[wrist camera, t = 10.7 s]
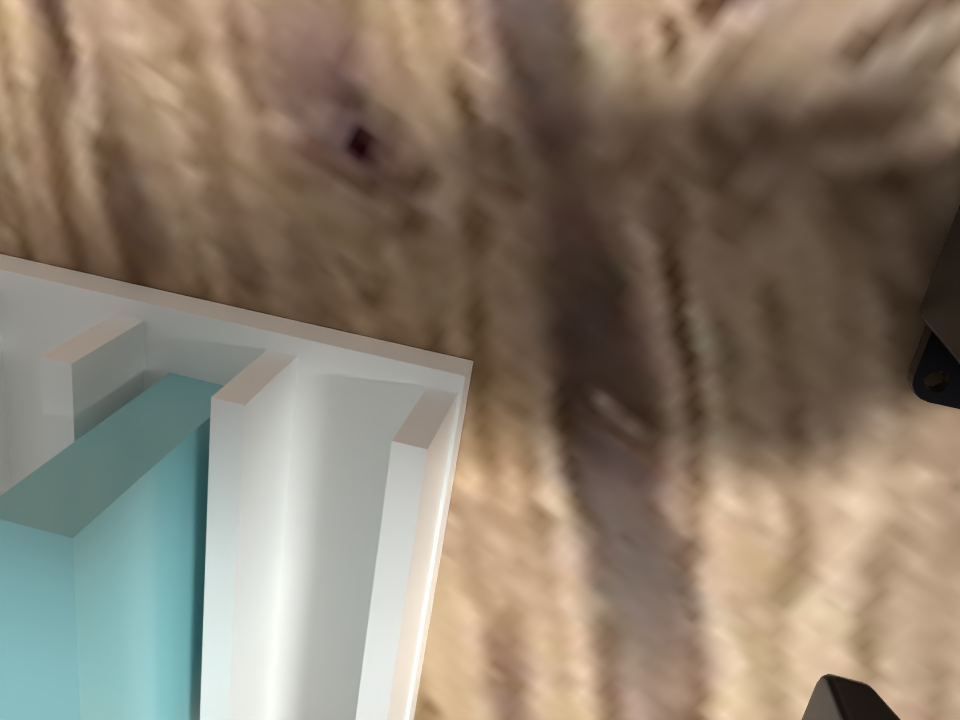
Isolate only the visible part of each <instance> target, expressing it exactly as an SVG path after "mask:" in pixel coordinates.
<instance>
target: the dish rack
mask: <svg viewBox="0 0 960 720" xmlns="http://www.w3.org/2000/svg"><path fill="white" fill-rule="evenodd" d="M473 362H474V361H472V360H467V359H463V358H458V357H454V356H449V355H445V354H441V353H436V352H432V351H427V350H423V349H419V348H414V347H410V346H405V345H401V344H396V343H392V342H388V341H383V340H379V339H374V338H370V337H366V336H361V335H357V334H352V333H348V332H343V331H339V330H335V329H330V328H326V327H321V326H317V325H313V324H308V323H304V322H299V321H295V320H290V319H286V318H282V317H277V316H273V315H268V314H264V313H260V312H255V311H251V310H246V309H242V308H237V307H233V306H229V305H224V304H220V303H215V302H211V301H207V300H202V299H198V298H193V297H189V296H184V295H180V294H176V293H171V292H167V291H162V290H158V289H154V288H149V287H145V286H140V285H136V284H131V283H127V282H123V281H118V280H114V279H109V278H105V277H101V276H96V275H92V274H87V273H83V272H78V271H74V270H70V269H65V268H61V267H56V266H52V265H48V264H43V263H39V262H34V261H30V260H25V259H21V258H17V257H12V256H8V255H3V254H0V495H2V494H3V493H5V492H6V491H7V490H9V489H10V488H11V487H13V486H14V485H16V484H17V483H18V482H20V481H21V480H23V479H24V478H25V477H27V476H28V475H29V474H31V473H32V472H34V471H35V470H36V469H38V468H39V467H40V466H42V465H43V464H45V463H46V462H47V461H49V460H50V459H51V458H53V457H54V456H56V455H57V454H58V453H60V452H61V451H62V450H64V449H65V448H67V447H68V446H69V445H71V444H72V443H73V442H75V441H76V440H78V439H79V438H80V437H82V436H83V435H85V434H86V433H87V432H89V431H90V430H91V429H93V428H94V427H96V426H97V425H98V424H100V423H101V422H102V421H104V420H105V419H107V418H108V417H109V416H111V415H112V414H113V413H115V412H116V411H118V410H119V409H120V408H122V407H123V406H124V405H126V404H127V403H129V402H130V401H131V400H133V399H134V398H135V397H137V396H138V395H140V394H141V393H142V392H144V391H145V390H147V389H148V388H149V387H151V386H152V385H153V384H155V383H156V382H158V381H159V380H160V379H162V378H163V377H164V376H166V375H167V374H169V373H173V374H177V375H181V376H185V377H190V378H194V379H198V380H203V381H207V382H211V383H215V384H220V385H224V387H223V388H221V389H220V390H219V391H218V392H217V393H215V394H214V395H213V396H212V397H211V413H210V442H209V471H208V500H207V529H206V557H205V586H204V615H203V644H202V673H201V702H200V720H414V714H415V708H416V702H417V696H418V690H419V684H420V678H421V672H422V666H423V660H424V654H425V648H426V642H427V636H428V630H429V624H430V618H431V612H432V606H433V600H434V594H435V588H436V582H437V576H438V570H439V565H440V559H441V553H442V547H443V541H444V535H445V529H446V523H447V517H448V511H449V505H450V499H451V493H452V487H453V481H454V475H455V469H456V463H457V457H458V451H459V445H460V439H461V433H462V427H463V421H464V415H465V409H466V403H467V397H468V391H469V385H470V380H471V374H472V368H473Z"/></svg>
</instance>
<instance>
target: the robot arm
mask: <svg viewBox="0 0 960 720" xmlns="http://www.w3.org/2000/svg"><path fill="white" fill-rule="evenodd" d="M920 314H921V315H922V317H923V319H924V320H925V322H926V324H927V326H926V328H925V331H924V333H923V336H922V339H921V341H920V344H919V346H918V349H917V351H916V354H915V356H914V359H913V362H912V364H911V367H910V369H909V374H908V381H909V384H910V386H911V388H912V390H913V391H914V393H915V394H916V395H917V396H918V397H919V398H920V399H922V400H925V401H927V402H930V403H935V404H939V405H944V406H949V407H953V408H958V409H960V206H959V208H958V211H957V214H956V216H955V219H954V221H953V224H952V227H951V229H950V232H949V234H948V237H947V240H946V242H945V245H944V247H943V250H942V253H941V255H940V258H939V260H938V263H937V266H936V268H935V271H934V273H933V276H932V279H931V281H930V284H929V286H928V289H927V292H926V294H925V297H924V299H923V302H922V305H921V307H920ZM933 372H942V373H944V377H943V379H942V380H941V382H940V383H938V384H936V385H934V386H927V385H925V384H924V381H925V378H926V377H927V376H928V375H929V374H931V373H933ZM802 720H900V719H899V717H898V716H897V715H896V714H895V713H894V712H893V711H892V710H891V709H890V707H889V706H888V705H887V704H886V703H885V702H884V701H883V700H882V698H881V697H880V696H879V695H878V694H877V693H876V692H875V691H874V690H873V689H872V688H871V687H870V686H869V685H867V684H865V683H863V682H860V681H856V680H852V679H848V678H844V677H840V676H836V675H832V674H827V675H824V676H822V677H821V678H820V680H819V681H818V682H817V684H816V686H815V688H814V691H813V693H812V696H811V698H810V701H809V703H808V706H807V708H806V711H805V713H804V715H803V718H802Z"/></svg>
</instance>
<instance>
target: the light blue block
mask: <svg viewBox="0 0 960 720" xmlns="http://www.w3.org/2000/svg"><path fill="white" fill-rule="evenodd" d="M223 387H224V385H220V384H215V383H211V382H207V381H203V380H198V379H194V378H190V377H185V376H181V375H177V374H173V373H169V374H167V375H166V376H164V377H163V378H162V379H160V380H159V381H158V382H156V383H155V384H153V385H152V386H151V387H149V388H148V389H147V390H145V391H144V392H142V393H141V394H140V395H138V396H137V397H135V398H134V399H133V400H131V401H130V402H129V403H127V404H126V405H124V406H123V407H122V408H120V409H119V410H118V411H116V412H115V413H113V414H112V415H111V416H109V417H108V418H107V419H105V420H104V421H102V422H101V423H100V424H98V425H97V426H96V427H94V428H93V429H91V430H90V431H89V432H87V433H86V434H85V435H83V436H82V437H80V438H79V439H78V440H76V441H75V442H73V443H72V444H71V445H69V446H68V447H67V448H65V449H64V450H62V451H61V452H60V453H58V454H57V455H56V456H54V457H53V458H51V459H50V460H49V461H47V462H46V463H45V464H43V465H42V466H40V467H39V468H38V469H36V470H35V471H34V472H32V473H31V474H29V475H28V476H27V477H25V478H24V479H23V480H21V481H20V482H18V483H17V484H16V485H14V486H13V487H11V488H10V489H9V490H7V491H6V492H5V493H3V494H2V495H0V720H200V702H201V673H202V644H203V615H204V586H205V557H206V529H207V500H208V471H209V442H210V413H211V397H212V396H213V395H214V394H215V393H217V392H218V391H219V390H220V389H221V388H223Z"/></svg>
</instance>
